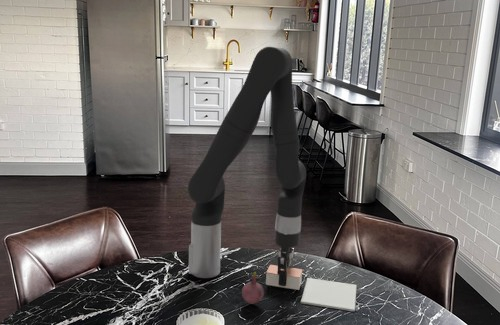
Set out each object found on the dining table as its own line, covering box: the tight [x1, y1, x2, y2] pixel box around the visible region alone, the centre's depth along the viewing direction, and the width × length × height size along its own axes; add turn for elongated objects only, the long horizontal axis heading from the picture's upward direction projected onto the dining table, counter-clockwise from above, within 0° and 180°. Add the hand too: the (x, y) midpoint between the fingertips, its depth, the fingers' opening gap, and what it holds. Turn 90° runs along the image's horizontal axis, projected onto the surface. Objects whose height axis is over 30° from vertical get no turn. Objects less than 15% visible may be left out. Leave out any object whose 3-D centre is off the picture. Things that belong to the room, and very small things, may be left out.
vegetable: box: [241, 271, 265, 305], centre depth 133 cm, size 6×6×10 cm
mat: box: [300, 277, 358, 312], centre depth 141 cm, size 15×15×1 cm
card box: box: [265, 264, 303, 291], centre depth 144 cm, size 10×6×4 cm, turn 77°
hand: (284, 280), depth 144 cm, fingers closed on card box, 5 cm apart
